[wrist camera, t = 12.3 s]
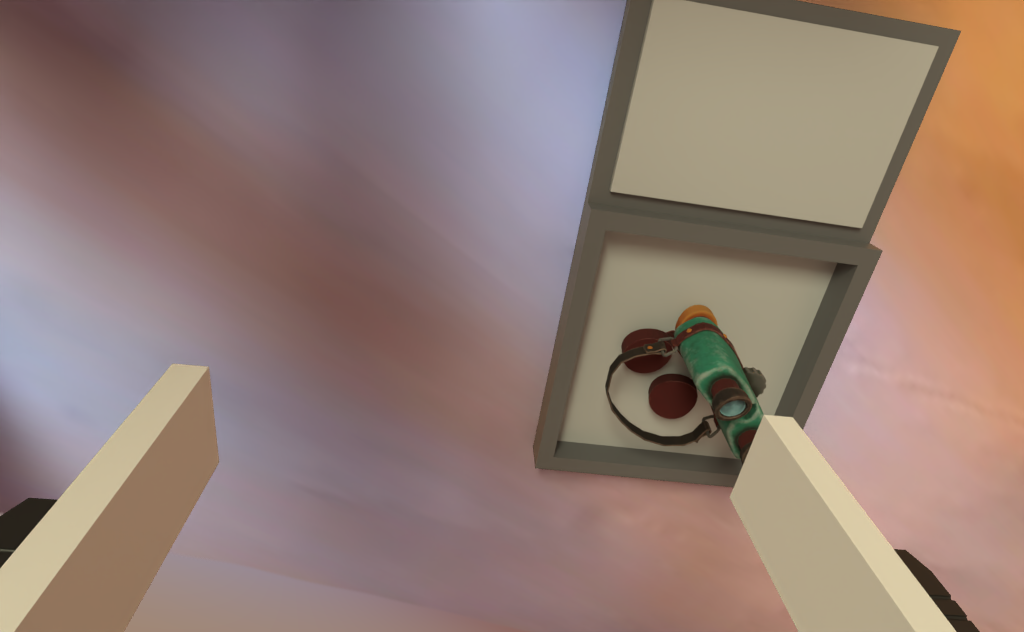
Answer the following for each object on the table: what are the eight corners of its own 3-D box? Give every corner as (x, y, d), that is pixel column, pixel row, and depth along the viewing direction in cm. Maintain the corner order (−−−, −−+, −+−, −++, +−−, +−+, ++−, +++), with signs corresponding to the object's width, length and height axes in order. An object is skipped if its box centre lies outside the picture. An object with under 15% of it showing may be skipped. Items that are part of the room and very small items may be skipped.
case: (632, -28, 33) (643, -32, 31) (949, 30, 35) (980, 31, 33) (533, 447, 48) (535, 468, 45) (762, 470, 50) (775, 491, 47)
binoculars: (596, 435, 35) (763, 366, 32) (585, 341, 44) (714, 281, 41) (660, 531, 38) (815, 476, 35) (638, 425, 48) (760, 375, 45)
